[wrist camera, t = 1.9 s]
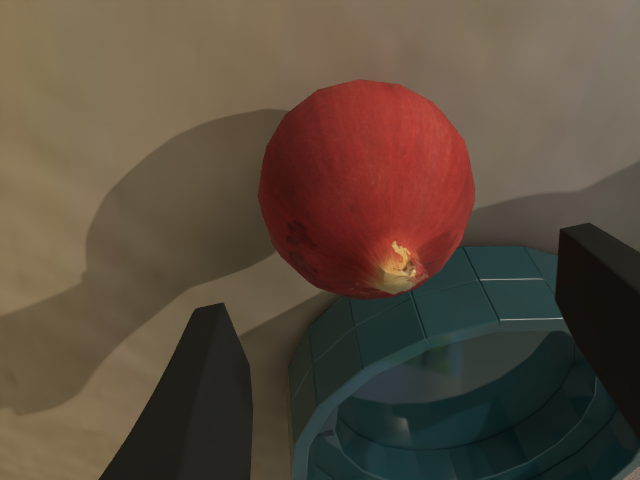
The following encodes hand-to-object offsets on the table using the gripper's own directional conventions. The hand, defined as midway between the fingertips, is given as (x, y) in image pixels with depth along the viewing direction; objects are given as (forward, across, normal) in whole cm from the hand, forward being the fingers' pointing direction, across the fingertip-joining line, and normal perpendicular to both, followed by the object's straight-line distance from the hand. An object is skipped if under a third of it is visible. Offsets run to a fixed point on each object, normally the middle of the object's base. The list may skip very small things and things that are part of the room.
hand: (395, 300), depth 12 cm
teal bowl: (+8, -3, +13) cm, 16 cm away
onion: (+8, 0, 0) cm, 8 cm away
